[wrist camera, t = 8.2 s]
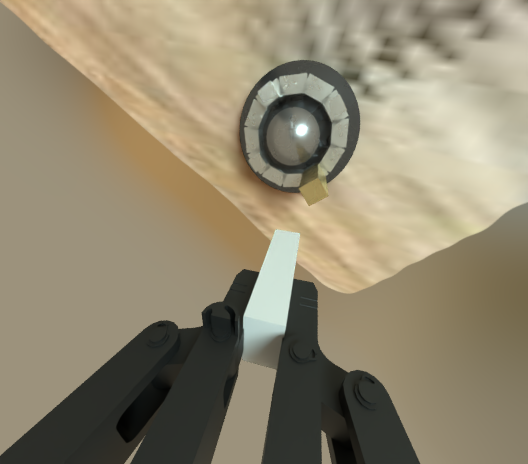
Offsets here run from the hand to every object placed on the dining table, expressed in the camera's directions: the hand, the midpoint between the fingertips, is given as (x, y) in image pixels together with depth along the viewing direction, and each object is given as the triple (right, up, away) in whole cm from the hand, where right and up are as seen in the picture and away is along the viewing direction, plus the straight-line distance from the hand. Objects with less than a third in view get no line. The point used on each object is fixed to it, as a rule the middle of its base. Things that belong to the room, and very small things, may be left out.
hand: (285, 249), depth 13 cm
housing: (+4, +17, +20) cm, 27 cm away
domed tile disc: (+3, +16, +18) cm, 24 cm away
